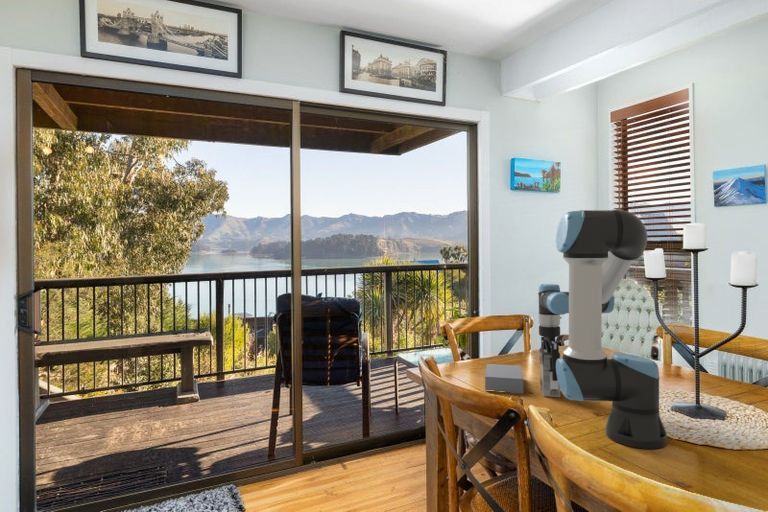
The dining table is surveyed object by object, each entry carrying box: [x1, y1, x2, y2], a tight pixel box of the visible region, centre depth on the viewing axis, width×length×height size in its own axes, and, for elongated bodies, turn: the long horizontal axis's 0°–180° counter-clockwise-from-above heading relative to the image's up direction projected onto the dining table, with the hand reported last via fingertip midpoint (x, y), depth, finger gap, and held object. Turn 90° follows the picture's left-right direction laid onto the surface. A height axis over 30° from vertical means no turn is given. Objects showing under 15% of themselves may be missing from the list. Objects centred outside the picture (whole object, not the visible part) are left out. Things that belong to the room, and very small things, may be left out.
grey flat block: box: [484, 363, 525, 395], centre depth 179 cm, size 20×14×6 cm
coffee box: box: [539, 347, 561, 398], centre depth 168 cm, size 9×6×16 cm
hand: (549, 384), depth 168 cm, fingers closed on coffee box, 9 cm apart
